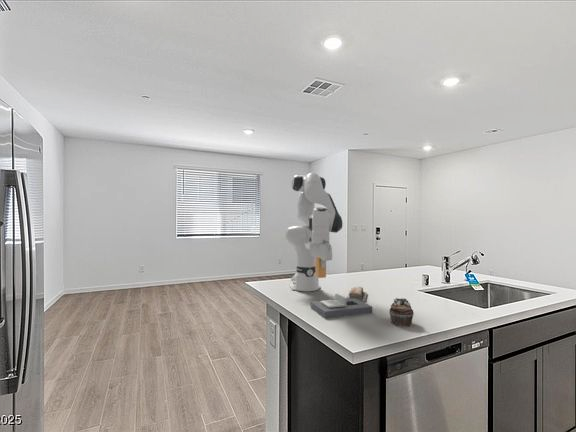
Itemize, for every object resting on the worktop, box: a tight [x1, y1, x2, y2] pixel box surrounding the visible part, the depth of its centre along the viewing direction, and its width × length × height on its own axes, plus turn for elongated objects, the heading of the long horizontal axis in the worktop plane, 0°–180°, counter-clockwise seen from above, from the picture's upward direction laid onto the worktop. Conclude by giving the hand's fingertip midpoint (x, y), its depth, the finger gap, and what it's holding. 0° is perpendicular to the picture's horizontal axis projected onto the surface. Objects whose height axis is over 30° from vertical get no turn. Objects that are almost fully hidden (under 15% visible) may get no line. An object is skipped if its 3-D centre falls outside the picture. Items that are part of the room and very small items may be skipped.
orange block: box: [315, 257, 327, 279], centre depth 153 cm, size 4×4×10 cm
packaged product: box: [346, 286, 368, 303], centre depth 166 cm, size 18×5×10 cm
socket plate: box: [310, 297, 373, 319], centre depth 142 cm, size 16×24×3 cm, turn 108°
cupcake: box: [388, 297, 415, 328], centre depth 125 cm, size 10×10×10 cm
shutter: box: [320, 293, 347, 308], centre depth 141 cm, size 9×9×4 cm
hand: (320, 266), depth 153 cm, fingers closed on orange block, 4 cm apart
